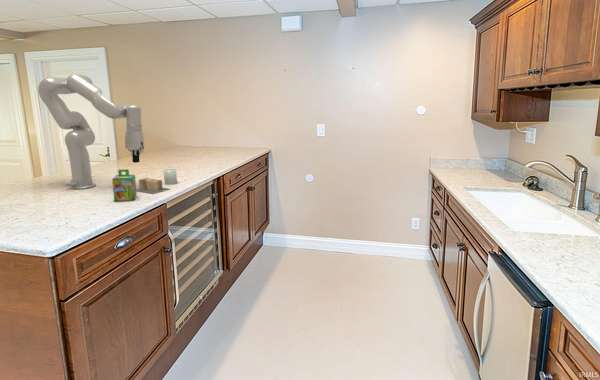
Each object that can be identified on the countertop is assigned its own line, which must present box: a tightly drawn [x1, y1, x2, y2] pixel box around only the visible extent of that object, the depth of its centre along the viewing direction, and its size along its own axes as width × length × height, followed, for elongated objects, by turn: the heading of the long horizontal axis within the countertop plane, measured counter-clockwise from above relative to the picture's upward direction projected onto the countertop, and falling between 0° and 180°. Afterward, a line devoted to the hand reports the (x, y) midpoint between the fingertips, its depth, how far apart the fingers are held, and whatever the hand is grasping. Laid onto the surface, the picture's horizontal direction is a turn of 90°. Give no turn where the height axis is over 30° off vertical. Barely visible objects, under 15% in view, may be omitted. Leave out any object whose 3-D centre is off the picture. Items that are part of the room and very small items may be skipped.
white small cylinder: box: [163, 168, 178, 186], centre depth 219 cm, size 7×7×8 cm
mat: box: [136, 187, 171, 195], centre depth 204 cm, size 12×14×1 cm
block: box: [138, 177, 164, 191], centre depth 205 cm, size 5×5×12 cm
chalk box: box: [111, 169, 137, 202], centre depth 184 cm, size 9×9×15 cm
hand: (136, 162), depth 206 cm, fingers closed
